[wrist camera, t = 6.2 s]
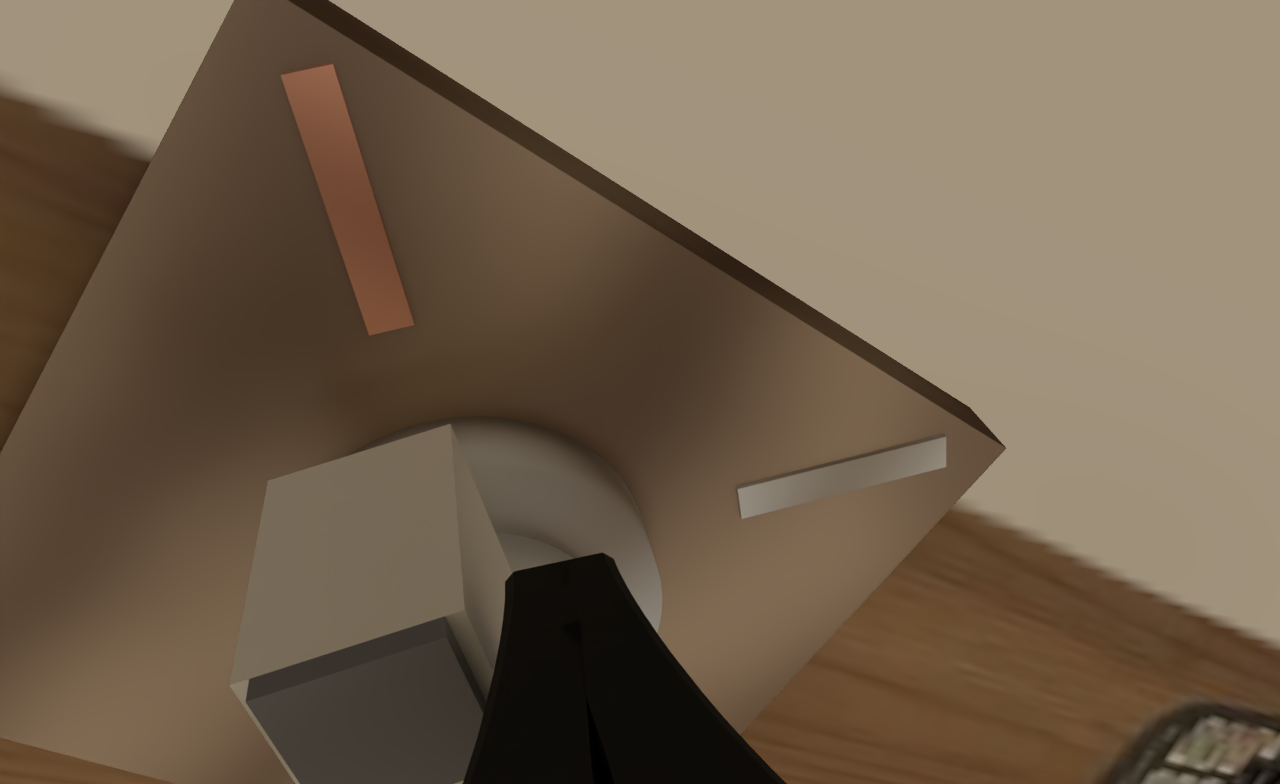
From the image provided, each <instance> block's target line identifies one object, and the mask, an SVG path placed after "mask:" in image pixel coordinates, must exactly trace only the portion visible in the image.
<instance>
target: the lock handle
mask: <svg viewBox="0 0 1280 784" xmlns="http://www.w3.org/2000/svg"><path fill="white" fill-rule="evenodd" d="M570 559H574V558H572V557H571V556H570V555H568V554H566V553H565V552H563V551H561V550H559V549H558V548H556V547H554V546H551V545H549V544H547V543H544V542H542V541H539V540H535V539H532V538H528V537H525V536H519V535H513V534H507V533H495V530H494V528H493V525H492V523H491V521H490V518H489V516H488V513H487V511H486V509H485V506H484V504H483V501H482V499H481V496H480V494H479V492H478V489H477V487H476V484H475V482H474V480H473V477H472V475H471V472H470V470H469V467H468V465H467V463H466V460H465V458H464V455H463V453H462V451H461V448H460V446H459V443H458V441H457V438H456V436H455V434H454V431H453V429H452V426H451V424H448V425H445V426H441V427H438V428H435V429H432V430H429V431H426V432H422V433H419V434H416V435H413V436H410V437H406V438H403V439H400V440H397V441H394V442H390V443H387V444H384V445H381V446H378V447H374V448H371V449H368V450H365V451H362V452H358V453H355V454H352V455H349V456H346V457H342V458H339V459H336V460H333V461H330V462H326V463H323V464H320V465H317V466H314V467H310V468H307V469H304V470H301V471H298V472H294V473H291V474H288V475H285V476H282V477H278V478H275V479H272V480H269V481H268V483H267V489H266V494H265V499H264V505H263V510H262V515H261V521H260V526H259V531H258V537H257V542H256V547H255V552H254V558H253V563H252V568H251V574H250V579H249V584H248V590H247V595H246V600H245V606H244V611H243V616H242V621H241V627H240V632H239V637H238V643H237V648H236V653H235V659H234V664H233V669H232V675H231V680H230V687H231V688H232V690H233V691H234V693H235V694H236V696H237V697H238V699H239V700H240V702H241V703H242V705H243V706H244V708H245V709H246V711H247V712H248V714H249V715H250V717H251V718H252V720H253V721H254V723H255V724H256V726H257V727H258V729H259V730H260V732H261V733H262V735H263V736H264V738H265V739H266V741H267V742H268V743H269V745H270V746H271V748H272V749H273V751H274V752H275V754H276V755H277V757H278V758H279V760H280V761H281V763H282V764H283V766H284V767H285V769H286V770H287V772H288V773H289V775H290V776H291V778H292V779H293V781H294V782H295V784H463V781H464V778H465V775H466V772H467V769H468V765H469V762H470V759H471V756H472V753H473V750H474V747H475V744H476V740H477V737H478V733H479V730H480V726H481V722H482V718H483V714H484V710H485V706H486V702H487V698H488V694H489V689H490V685H491V681H492V677H493V673H494V668H495V663H496V658H497V653H498V648H499V642H500V636H501V630H502V623H503V614H504V603H505V581H506V580H507V579H508V578H509V576H510V575H511V574H512V573H513V572H514V571H518V570H523V569H528V568H532V567H537V566H542V565H546V564H551V563H556V562H560V561H565V560H570Z"/></svg>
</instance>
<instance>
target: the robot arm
mask: <svg viewBox="0 0 1280 784" xmlns="http://www.w3.org/2000/svg"><path fill="white" fill-rule="evenodd" d="M463 784H786V783H785V782H784V781H783V780H782V779H781V778H780V777H779V776H778V775H777V774H776V773H775V772H774V771H773V770H772V769H771V768H770V767H769V766H768V765H767V764H766V763H765V761H764V760H763V759H762V758H761V757H760V756H759V755H758V754H757V753H756V752H755V751H754V750H753V749H752V748H751V747H750V746H749V745H748V743H747V742H746V741H745V740H744V739H743V738H742V737H741V736H740V735H739V734H738V732H737V731H736V730H735V729H734V728H733V727H732V726H731V725H730V724H729V722H728V721H727V720H726V719H725V718H724V717H723V716H722V715H721V713H720V712H719V711H718V710H717V709H716V708H715V706H714V705H713V704H712V703H711V702H710V701H709V699H708V698H707V697H706V696H705V695H704V693H703V692H702V691H701V690H700V688H699V687H698V686H697V685H696V683H695V682H694V681H693V680H692V678H691V677H690V676H689V674H688V673H687V672H686V671H685V669H684V668H683V667H682V666H681V664H680V663H679V662H678V661H677V659H676V658H675V657H674V655H673V654H672V653H671V652H670V650H669V649H668V647H667V646H666V645H665V643H664V642H663V641H662V639H661V638H660V636H659V635H658V634H657V632H656V631H655V629H654V628H653V626H652V625H651V623H650V622H649V620H648V619H647V617H646V616H645V614H644V613H643V611H642V610H641V608H640V607H639V605H638V604H637V602H636V600H635V599H634V597H633V595H632V594H631V592H630V590H629V589H628V587H627V585H626V583H625V581H624V579H623V578H622V576H621V574H620V572H619V570H618V568H617V565H616V563H615V560H614V559H613V558H611V557H610V556H608V555H606V554H605V553H603V552H602V553H598V554H593V555H588V556H584V557H579V558H574V559H570V560H565V561H560V562H556V563H551V564H546V565H542V566H537V567H532V568H528V569H523V570H518V571H514V572H513V573H512V574H511V575H510V576H509V578H508V579H507V580H506V581H505V603H504V614H503V623H502V630H501V636H500V642H499V648H498V653H497V658H496V663H495V668H494V673H493V677H492V681H491V685H490V689H489V694H488V698H487V702H486V706H485V710H484V714H483V718H482V722H481V726H480V730H479V733H478V737H477V740H476V744H475V747H474V750H473V753H472V756H471V759H470V762H469V765H468V769H467V772H466V775H465V778H464V781H463Z"/></svg>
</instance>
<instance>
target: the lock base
mask: <svg viewBox="0 0 1280 784" xmlns="http://www.w3.org/2000/svg"><path fill="white" fill-rule="evenodd" d="M448 424H451V426H452V429H453V431H454V434H455V436H456V438H457V441H458V443H459V446H460V448H461V451H462V453H463V455H464V458H465V460H466V463H467V465H468V467H469V470H470V472H471V475H472V477H473V480H474V482H475V484H476V487H477V489H478V492H479V494H480V496H481V499H482V501H483V504H484V506H485V509H486V511H487V513H488V516H489V518H490V521H491V523H492V525H493V528H494V530H495V533H507V534H513V535H519V536H525V537H528V538H532V539H535V540H539V541H542V542H544V543H547V544H549V545H551V546H554V547H556V548H558V549H559V550H561V551H563V552H565V553H566V554H568V555H570V556H571V557H572V558H579V557H584V556H588V555H593V554H598V553H602V552H603V553H605V554H606V555H608V556H610V557H611V558H613V559H614V560H615V563H616V565H617V568H618V570H619V572H620V574H621V576H622V578H623V579H624V581H625V583H626V585H627V587H628V589H629V590H630V592H631V594H632V595H633V597H634V599H635V600H636V602H637V604H638V605H639V607H640V608H641V610H642V611H643V613H644V614H645V616H646V617H647V619H648V620H649V622H650V623H651V625H652V626H653V628H654V629H655V631H656V632H657V634H658V635H659V636H660V638H661V639H662V641H663V642H664V643H665V645H666V646H667V647H668V649H669V650H670V652H671V653H672V654H673V655H674V657H675V658H676V659H677V661H678V662H679V663H680V664H681V666H682V667H683V668H684V669H685V671H686V672H687V673H688V674H689V676H690V677H691V678H692V680H693V681H694V682H695V683H696V685H697V686H698V687H699V688H700V690H701V691H702V692H703V693H704V695H705V696H706V697H707V698H708V699H709V701H710V702H711V703H712V704H713V705H714V706H715V708H716V709H717V710H718V711H719V712H720V713H721V715H722V716H723V717H724V718H725V719H726V720H727V721H728V722H729V724H730V725H731V726H732V727H733V728H734V729H735V730H736V731H737V732H738V734H739V735H740V734H741V733H742V732H743V731H744V730H745V729H746V728H747V727H748V725H749V724H750V723H751V722H752V721H753V720H754V719H755V718H756V717H757V716H758V715H759V714H760V713H761V711H762V710H763V709H764V708H765V707H766V706H767V705H768V704H769V703H770V702H771V701H772V700H773V699H774V697H775V696H776V695H777V694H778V693H779V692H780V691H781V690H782V689H783V688H784V687H785V686H786V685H787V684H788V682H789V681H790V680H791V679H792V678H793V677H794V676H795V675H796V674H797V673H798V672H799V671H800V670H801V668H802V667H803V666H804V665H805V664H806V663H807V662H808V661H809V660H810V659H811V658H812V657H813V656H814V654H815V653H816V652H817V651H818V650H819V649H820V648H821V647H822V646H823V645H824V644H825V643H826V642H827V641H828V639H829V638H830V637H831V636H832V635H833V634H834V633H835V632H836V631H837V630H838V629H839V628H840V627H841V625H842V624H843V623H844V622H845V621H846V620H847V619H848V618H849V617H850V616H851V615H852V614H853V613H854V611H855V610H856V609H857V608H858V607H859V606H860V605H861V604H862V603H863V602H864V601H865V600H866V599H867V597H868V596H869V595H870V594H871V593H872V592H873V591H874V590H875V589H876V588H877V587H878V586H879V585H880V584H881V582H882V581H883V580H884V579H885V578H886V577H887V576H888V575H889V574H890V573H891V572H892V571H893V570H894V568H895V567H896V566H897V565H898V564H899V563H900V562H901V561H902V560H903V559H904V558H905V557H906V556H907V554H908V553H909V552H910V551H911V550H912V549H913V548H914V547H915V546H916V545H917V544H918V543H919V542H920V540H921V539H922V538H923V537H924V536H925V535H926V534H927V533H928V532H929V531H930V530H931V529H932V528H933V527H934V525H935V524H936V523H937V522H938V521H939V520H940V519H941V518H942V517H943V516H944V515H945V514H946V513H947V511H948V510H949V509H950V508H951V507H952V506H953V505H954V504H955V503H956V502H957V501H958V500H959V499H960V497H961V496H962V495H963V494H964V493H965V492H966V491H967V490H968V489H969V488H970V487H971V486H972V485H973V483H974V482H975V481H976V480H977V479H978V478H979V477H980V476H981V475H982V474H983V473H984V472H985V471H986V469H987V468H988V467H989V466H990V465H991V464H992V463H993V462H994V461H995V460H996V459H997V458H998V457H999V455H1000V454H1001V453H1002V452H1003V451H1004V450H1005V449H1006V448H1005V446H1004V445H1003V444H1002V443H1001V442H1000V441H999V440H998V439H997V437H996V436H995V435H994V434H993V433H992V432H991V431H990V430H989V428H988V427H987V426H986V425H985V424H984V423H983V422H982V421H981V420H980V419H979V417H978V416H977V415H976V414H975V413H974V412H973V411H972V410H971V408H970V407H968V406H966V405H965V404H963V403H962V402H960V401H958V400H957V399H955V398H954V397H952V396H951V395H949V394H948V393H946V392H944V391H942V390H941V389H939V388H938V387H937V386H935V385H933V384H932V383H930V382H929V381H927V380H925V379H924V378H922V377H921V376H919V375H918V374H916V373H914V372H913V371H911V370H910V369H908V368H907V367H905V366H903V365H902V364H900V363H899V362H897V361H896V360H894V359H892V358H891V357H889V356H888V355H886V354H885V353H883V352H881V351H880V350H878V349H877V348H875V347H874V346H872V345H870V344H869V343H867V342H866V341H864V340H862V339H861V338H859V337H858V336H856V335H854V334H853V333H851V332H850V331H848V330H847V329H845V328H843V327H842V326H840V325H839V324H837V323H836V322H834V321H832V320H831V319H829V318H828V317H826V316H825V315H823V314H822V313H820V312H818V311H817V310H815V309H814V308H812V307H810V306H809V305H807V304H806V303H804V302H803V301H801V300H799V299H798V298H796V297H795V296H793V295H791V294H790V293H788V292H787V291H785V290H784V289H782V288H780V287H779V286H777V285H776V284H774V283H773V282H771V281H770V280H768V279H766V278H765V277H763V276H761V275H760V274H759V273H757V272H755V271H754V270H752V269H751V268H749V267H747V266H746V265H744V264H742V263H741V262H740V261H738V260H736V259H735V258H733V257H731V256H730V255H729V254H727V253H725V252H724V251H722V250H721V249H719V248H718V247H716V246H714V245H713V244H711V243H710V242H708V241H707V240H705V239H703V238H702V237H700V236H699V235H697V234H695V233H694V232H692V231H691V230H689V229H688V228H686V227H685V226H683V225H681V224H680V223H678V222H677V221H675V220H673V219H672V218H670V217H669V216H667V215H666V214H664V213H662V212H661V211H659V210H658V209H656V208H654V207H653V206H651V205H650V204H648V203H647V202H645V201H643V200H642V199H640V198H639V197H637V196H636V195H634V194H633V193H631V192H629V191H628V190H626V189H625V188H623V187H621V186H620V185H618V184H617V183H615V182H614V181H612V180H610V179H609V178H607V177H606V176H604V175H603V174H601V173H599V172H598V171H596V170H594V169H593V168H592V167H590V166H588V165H587V164H585V163H584V162H582V161H580V160H579V159H577V158H576V157H574V156H573V155H571V154H569V153H568V152H566V151H565V150H563V149H562V148H560V147H558V146H557V145H555V144H554V143H552V142H551V141H549V140H547V139H546V138H544V137H543V136H541V135H540V134H538V133H536V132H534V131H533V130H532V129H530V128H528V127H527V126H525V125H523V124H522V123H521V122H519V121H518V120H516V119H514V118H513V117H511V116H510V115H508V114H507V113H505V112H503V111H502V110H500V109H499V108H497V107H495V106H494V105H492V104H491V103H489V102H488V101H486V100H484V99H483V98H481V97H480V96H478V95H477V94H475V93H473V92H472V91H470V90H469V89H467V88H465V87H464V86H462V85H461V84H459V83H458V82H456V81H455V80H453V79H451V78H450V77H448V76H447V75H445V74H443V73H442V72H440V71H439V70H437V69H436V68H434V67H432V66H431V65H429V64H428V63H426V62H425V61H423V60H421V59H420V58H418V57H417V56H415V55H414V54H412V53H410V52H409V51H407V50H405V49H404V48H402V47H401V46H399V45H398V44H396V43H395V42H393V41H391V40H390V39H388V38H387V37H385V36H384V35H382V34H381V33H379V32H377V31H376V30H374V29H373V28H371V27H369V26H368V25H366V24H365V23H363V22H362V21H360V20H358V19H357V18H355V17H354V16H352V15H351V14H349V13H347V12H346V11H344V10H342V9H341V8H339V7H338V6H336V5H335V4H333V3H332V2H330V1H329V0H234V2H233V4H232V6H231V8H230V10H229V12H228V14H227V15H226V17H225V19H224V21H223V23H222V25H221V27H220V29H219V31H218V33H217V35H216V37H215V39H214V41H213V43H212V44H211V46H210V49H209V50H208V52H207V54H206V56H205V58H204V60H203V62H202V64H201V66H200V68H199V70H198V72H197V73H196V75H195V77H194V79H193V81H192V83H191V85H190V87H189V89H188V91H187V93H186V95H185V97H184V99H183V101H182V102H181V104H180V106H179V108H178V110H177V112H176V114H175V116H174V118H173V120H172V122H171V124H170V126H169V128H168V130H167V132H166V134H165V135H164V137H163V139H162V141H161V143H160V145H159V147H158V149H157V151H156V153H155V155H154V157H153V159H152V161H151V162H150V164H149V166H148V168H147V170H146V172H145V174H144V176H143V178H142V180H141V182H140V184H139V186H138V188H137V190H136V192H135V193H134V195H133V197H132V199H131V201H130V203H129V205H128V207H127V209H126V211H125V213H124V215H123V217H122V219H121V221H120V222H119V224H118V226H117V228H116V230H115V232H114V234H113V236H112V238H111V240H110V242H109V244H108V246H107V248H106V250H105V252H104V253H103V255H102V257H101V259H100V261H99V263H98V265H97V267H96V269H95V271H94V273H93V275H92V277H91V279H90V281H89V282H88V284H87V286H86V288H85V290H84V292H83V294H82V296H81V298H80V300H79V302H78V304H77V306H76V308H75V310H74V311H73V313H72V315H71V317H70V319H69V321H68V323H67V325H66V327H65V329H64V331H63V333H62V335H61V337H60V339H59V341H58V342H57V344H56V346H55V348H54V350H53V352H52V354H51V356H50V358H49V360H48V362H47V364H46V366H45V368H44V370H43V371H42V373H41V375H40V377H39V379H38V381H37V383H36V385H35V387H34V389H33V391H32V393H31V395H30V397H29V399H28V401H27V402H26V404H25V406H24V408H23V410H22V412H21V414H20V416H19V418H18V420H17V422H16V424H15V426H14V428H13V430H12V431H11V433H10V435H9V437H8V439H7V441H6V443H5V445H4V447H3V449H2V451H1V453H0V738H3V739H7V740H11V741H15V742H18V743H22V744H26V745H30V746H34V747H37V748H41V749H45V750H49V751H53V752H56V753H60V754H64V755H68V756H72V757H76V758H79V759H83V760H87V761H91V762H95V763H98V764H102V765H106V766H110V767H114V768H117V769H121V770H125V771H129V772H133V773H136V774H140V775H144V776H148V777H152V778H155V779H159V780H163V781H167V782H171V783H174V784H295V782H294V781H293V779H292V778H291V776H290V775H289V773H288V772H287V770H286V769H285V767H284V766H283V764H282V763H281V761H280V760H279V758H278V757H277V755H276V754H275V752H274V751H273V749H272V748H271V746H270V745H269V743H268V742H267V741H266V739H265V738H264V736H263V735H262V733H261V732H260V730H259V729H258V727H257V726H256V724H255V723H254V721H253V720H252V718H251V717H250V715H249V714H248V712H247V711H246V709H245V708H244V706H243V705H242V703H241V702H240V700H239V699H238V697H237V696H236V694H235V693H234V691H233V690H232V688H231V687H230V680H231V675H232V669H233V664H234V659H235V653H236V648H237V643H238V637H239V632H240V627H241V621H242V616H243V611H244V606H245V600H246V595H247V590H248V584H249V579H250V574H251V568H252V563H253V558H254V552H255V547H256V542H257V537H258V531H259V526H260V521H261V515H262V510H263V505H264V499H265V494H266V489H267V483H268V481H269V480H272V479H275V478H278V477H282V476H285V475H288V474H291V473H294V472H298V471H301V470H304V469H307V468H310V467H314V466H317V465H320V464H323V463H326V462H330V461H333V460H336V459H339V458H342V457H346V456H349V455H352V454H355V453H358V452H362V451H365V450H368V449H371V448H374V447H378V446H381V445H384V444H387V443H390V442H394V441H397V440H400V439H403V438H406V437H410V436H413V435H416V434H419V433H422V432H426V431H429V430H432V429H435V428H438V427H441V426H445V425H448Z"/></svg>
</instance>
